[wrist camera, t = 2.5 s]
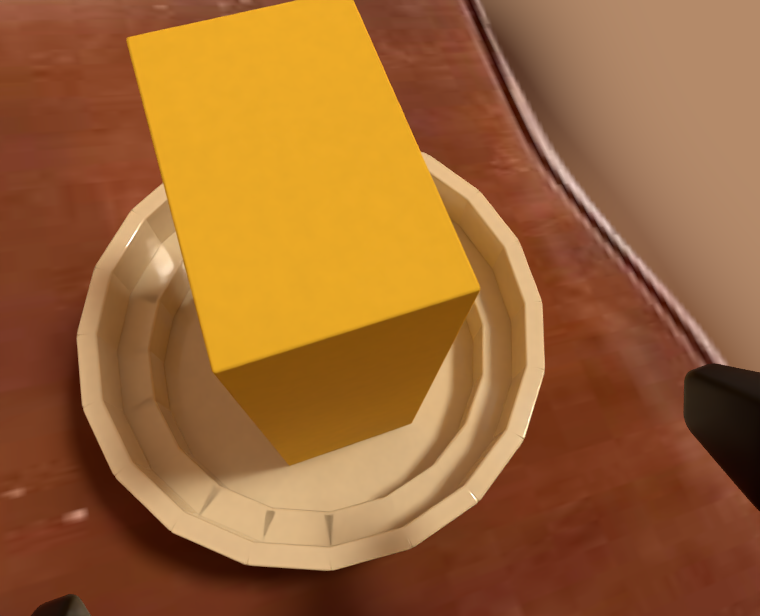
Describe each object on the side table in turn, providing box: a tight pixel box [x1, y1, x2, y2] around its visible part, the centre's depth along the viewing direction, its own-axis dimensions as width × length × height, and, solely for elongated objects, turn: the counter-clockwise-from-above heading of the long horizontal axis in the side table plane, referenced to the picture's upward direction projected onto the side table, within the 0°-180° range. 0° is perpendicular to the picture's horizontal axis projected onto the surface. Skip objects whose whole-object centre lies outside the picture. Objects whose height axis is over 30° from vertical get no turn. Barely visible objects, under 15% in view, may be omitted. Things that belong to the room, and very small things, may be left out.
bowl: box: [77, 152, 545, 571], centre depth 20 cm, size 14×14×4 cm
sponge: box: [126, 0, 480, 466], centre depth 16 cm, size 7×4×12 cm, turn 19°
